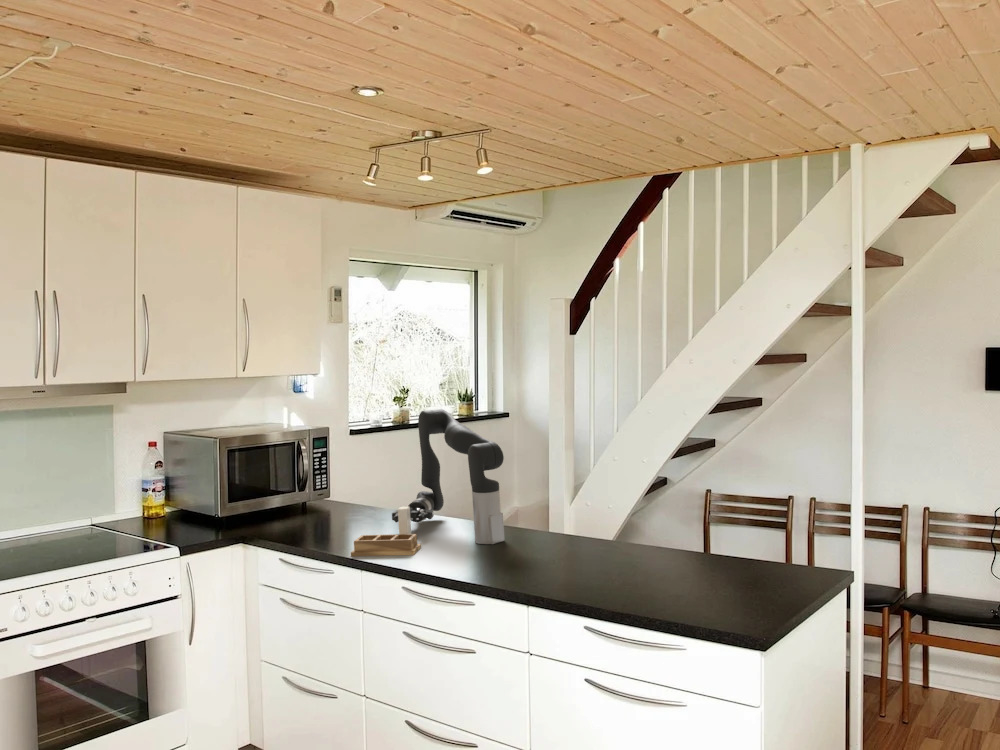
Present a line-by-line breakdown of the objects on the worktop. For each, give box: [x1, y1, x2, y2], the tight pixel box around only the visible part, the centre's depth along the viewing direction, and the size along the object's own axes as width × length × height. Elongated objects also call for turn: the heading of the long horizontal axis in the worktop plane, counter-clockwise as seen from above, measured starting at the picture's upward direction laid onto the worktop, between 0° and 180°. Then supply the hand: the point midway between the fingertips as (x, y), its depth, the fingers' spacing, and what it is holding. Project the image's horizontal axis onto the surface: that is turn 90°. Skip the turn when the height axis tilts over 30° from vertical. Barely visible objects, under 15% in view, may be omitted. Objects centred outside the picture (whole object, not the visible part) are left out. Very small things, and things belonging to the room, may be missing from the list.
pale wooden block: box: [397, 506, 412, 534], centre depth 295 cm, size 4×3×12 cm, turn 172°
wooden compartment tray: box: [350, 533, 422, 557], centre depth 283 cm, size 10×21×5 cm, turn 81°
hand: (407, 519), depth 299 cm, fingers open, 8 cm apart
